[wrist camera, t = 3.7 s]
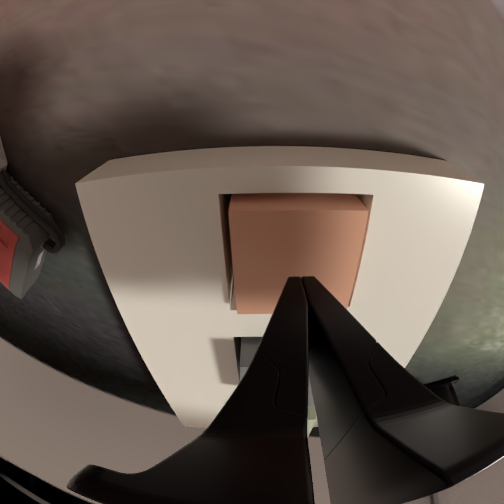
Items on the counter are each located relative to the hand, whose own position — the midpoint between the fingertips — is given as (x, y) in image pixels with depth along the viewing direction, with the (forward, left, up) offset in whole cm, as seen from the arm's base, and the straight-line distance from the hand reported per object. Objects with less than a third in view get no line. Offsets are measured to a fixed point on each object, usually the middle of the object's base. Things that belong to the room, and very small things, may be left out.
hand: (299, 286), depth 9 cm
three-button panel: (0, +7, -5) cm, 8 cm away
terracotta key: (0, 0, -6) cm, 6 cm away
